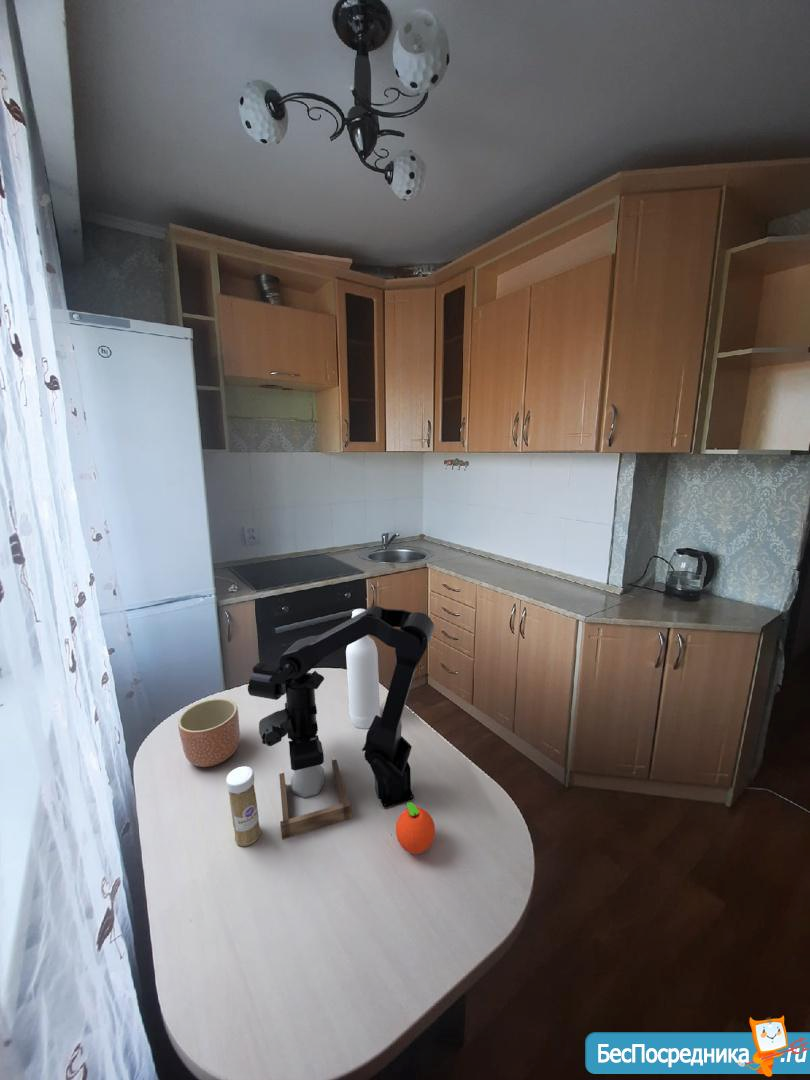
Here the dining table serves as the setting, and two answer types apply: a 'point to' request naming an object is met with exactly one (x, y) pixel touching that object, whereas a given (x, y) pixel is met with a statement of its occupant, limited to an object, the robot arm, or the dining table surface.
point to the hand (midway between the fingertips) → (304, 763)
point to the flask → (308, 781)
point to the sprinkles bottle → (243, 805)
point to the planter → (210, 731)
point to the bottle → (363, 680)
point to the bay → (318, 817)
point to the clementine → (415, 829)
